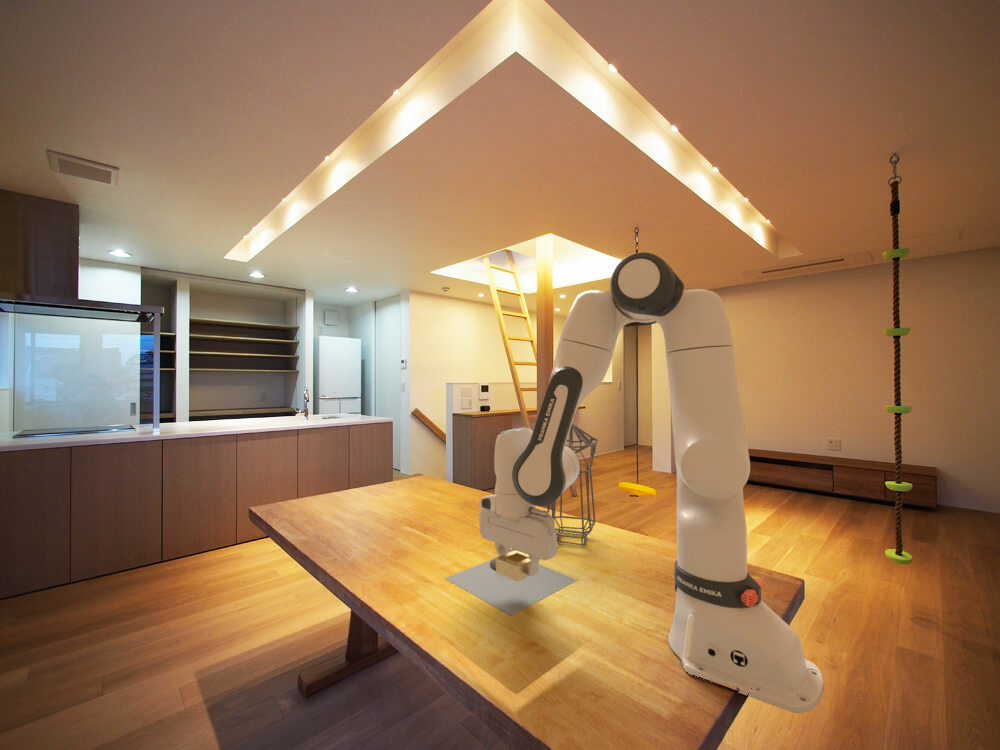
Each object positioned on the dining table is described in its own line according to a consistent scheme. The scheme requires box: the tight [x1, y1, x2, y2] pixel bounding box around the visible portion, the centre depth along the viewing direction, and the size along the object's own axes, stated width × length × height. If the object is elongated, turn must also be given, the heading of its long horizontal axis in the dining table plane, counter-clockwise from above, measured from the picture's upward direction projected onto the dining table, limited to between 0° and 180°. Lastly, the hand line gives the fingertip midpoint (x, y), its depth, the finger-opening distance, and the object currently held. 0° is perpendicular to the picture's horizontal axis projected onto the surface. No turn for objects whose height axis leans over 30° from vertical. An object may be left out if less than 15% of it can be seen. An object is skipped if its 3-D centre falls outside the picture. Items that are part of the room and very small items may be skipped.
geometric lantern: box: [547, 423, 599, 546], centre depth 126 cm, size 16×16×35 cm
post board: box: [444, 546, 578, 617], centre depth 96 cm, size 22×22×8 cm
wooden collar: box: [495, 549, 539, 582], centre depth 88 cm, size 6×6×3 cm
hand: (517, 568), depth 88 cm, fingers closed on wooden collar, 6 cm apart
